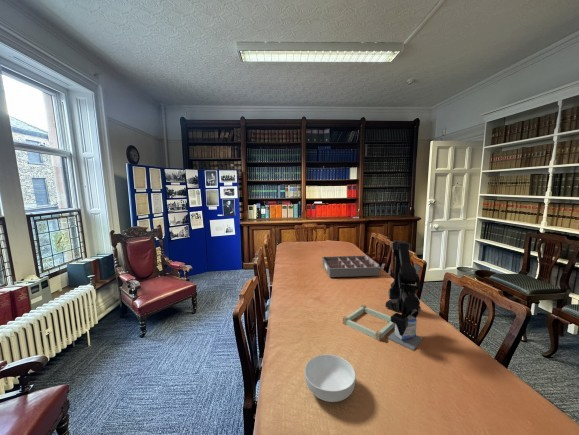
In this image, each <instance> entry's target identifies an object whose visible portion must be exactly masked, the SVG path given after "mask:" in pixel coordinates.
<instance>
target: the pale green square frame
mask: <svg viewBox="0 0 579 435" xmlns="http://www.w3.org/2000/svg"><path fill="white" fill-rule="evenodd" d="M364 313H365V314H368V315H371V316H373V317H375V318H378V319H380V320H383V321H384V322H388V323H387V324H386V325H385V326H383V327H382V328H381V329H380V330H377V331H375V330H372V329H371V328H368V327H366V326H364V325H363V324H362V325H361V324H359V323H357V322H355V321H354V320H355V319H357V318H358V317H359V316H360V315H362V314H364ZM391 316H392V315H391ZM391 316H390V315H388V314H385V313H382V312H380V311H378V310H376V309H372V308H369V307H367V305H365V304H361V305H360V307H359V308H358V309H356V310H354V311H353V312H351V313H350V314H348V315H347V316H343V317H342V324H343V325H345V326H347V327H349V328H352V329H354V330H356V331H358V332H360V333H362V334H364V335H366V336H369V337H370V338H372V339H375V340H376V341H378V342H380V341H381V340H382V339H383V338H384V337H385V336H386V335H387V334H388V333H389V332H391V331H392V329H393V328H395V323H393V322H391Z"/></svg>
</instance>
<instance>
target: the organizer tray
mask: <svg viewBox="0 0 579 435" xmlns="http://www.w3.org/2000/svg"><path fill="white" fill-rule="evenodd" d="M321 258H322V266H323V268H324V269H325V271H326V273H327V274H328V276H329V277H330V278H342V277H343V278H344V277H346V278H347V277H348V278H349V277H350V278H351V277H372V276H373V277H375V276H376V277H377V276H379V277H380V276H381V268H382V266H380V264H379V263H378V262H376V261H375V260H373V258H371V257H370V256H368V255H367V254H366V253H364V255H342V256H341V255H340V256H338V255H337V256H321Z"/></svg>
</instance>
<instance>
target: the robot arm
mask: <svg viewBox="0 0 579 435" xmlns="http://www.w3.org/2000/svg"><path fill="white" fill-rule="evenodd" d="M390 245H391V250H392V253H393V255H394V275H393V281H392V282H391V284H390V288H389V289H388V300H387V301H386V302H385V307H386V309H387V310H392V311H394V313H393V314H392V315H391V322H393V323H395V324H396V325H397V327H398V331H399V334H400V335H401V336H403V334H404V332H405V330H406V328H407V326H408V322H409V319H408V317H409V316H410V315H412V316H413V317H414V318H416V319H417V318H418V316H419V315H420V312H421V310H422V307H421V306H420V305H421V301H420V299H419V297H418V295H417V293H416V291H420V290H421V286H422V285H421V280H420V276H419V274H418V273H417V270H416V268H415V266H413V264H412V261H411V255H410V251H411V243H410V242H409V243H408V241H405V240H393V241H392V242H391V244H390Z"/></svg>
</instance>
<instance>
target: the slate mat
mask: <svg viewBox="0 0 579 435" xmlns="http://www.w3.org/2000/svg"><path fill="white" fill-rule="evenodd" d="M423 338H424V337H422V336H419V335H417V334H416V337H412V338H408V339H404V340H401V339H400V338H399V337H397V336H396V335H395V330H394V331H393V332H392V333H390V335H389V336H387V339H388V341H389V340H390V341H391V342H394V343H396V344H399V345H400V346H403V347H404V348H407V349H409V350H411V351H414V350H415V349H416V348H418V346H419V344H420V343H421V342H422V341H423Z"/></svg>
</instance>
